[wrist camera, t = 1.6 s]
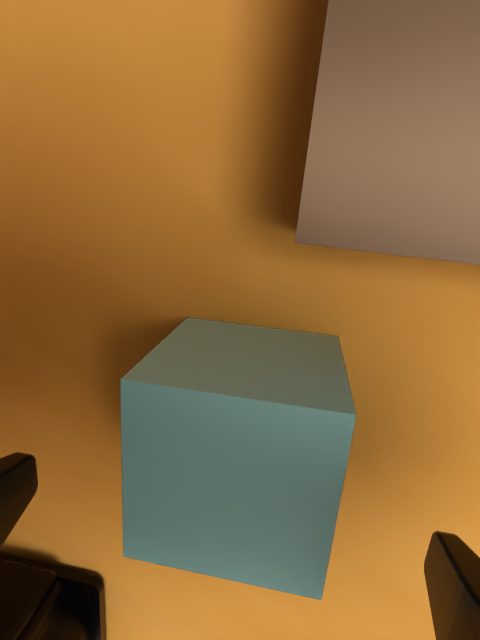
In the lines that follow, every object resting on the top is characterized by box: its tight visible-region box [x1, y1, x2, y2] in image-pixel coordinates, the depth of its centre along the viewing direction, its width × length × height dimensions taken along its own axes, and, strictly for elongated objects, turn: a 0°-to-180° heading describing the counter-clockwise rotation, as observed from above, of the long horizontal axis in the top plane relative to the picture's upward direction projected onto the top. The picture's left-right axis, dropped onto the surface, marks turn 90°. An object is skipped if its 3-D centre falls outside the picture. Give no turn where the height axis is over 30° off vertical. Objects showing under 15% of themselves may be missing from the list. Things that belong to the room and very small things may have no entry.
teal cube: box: [120, 317, 356, 600], centre depth 11 cm, size 5×5×5 cm
